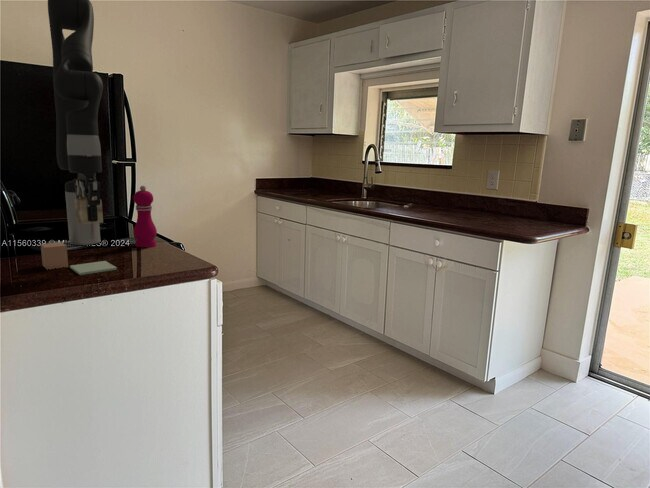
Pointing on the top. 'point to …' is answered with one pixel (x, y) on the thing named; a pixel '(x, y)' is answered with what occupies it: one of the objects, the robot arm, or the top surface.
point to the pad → (93, 267)
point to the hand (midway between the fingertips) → (89, 219)
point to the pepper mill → (144, 219)
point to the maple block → (82, 212)
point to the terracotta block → (54, 255)
